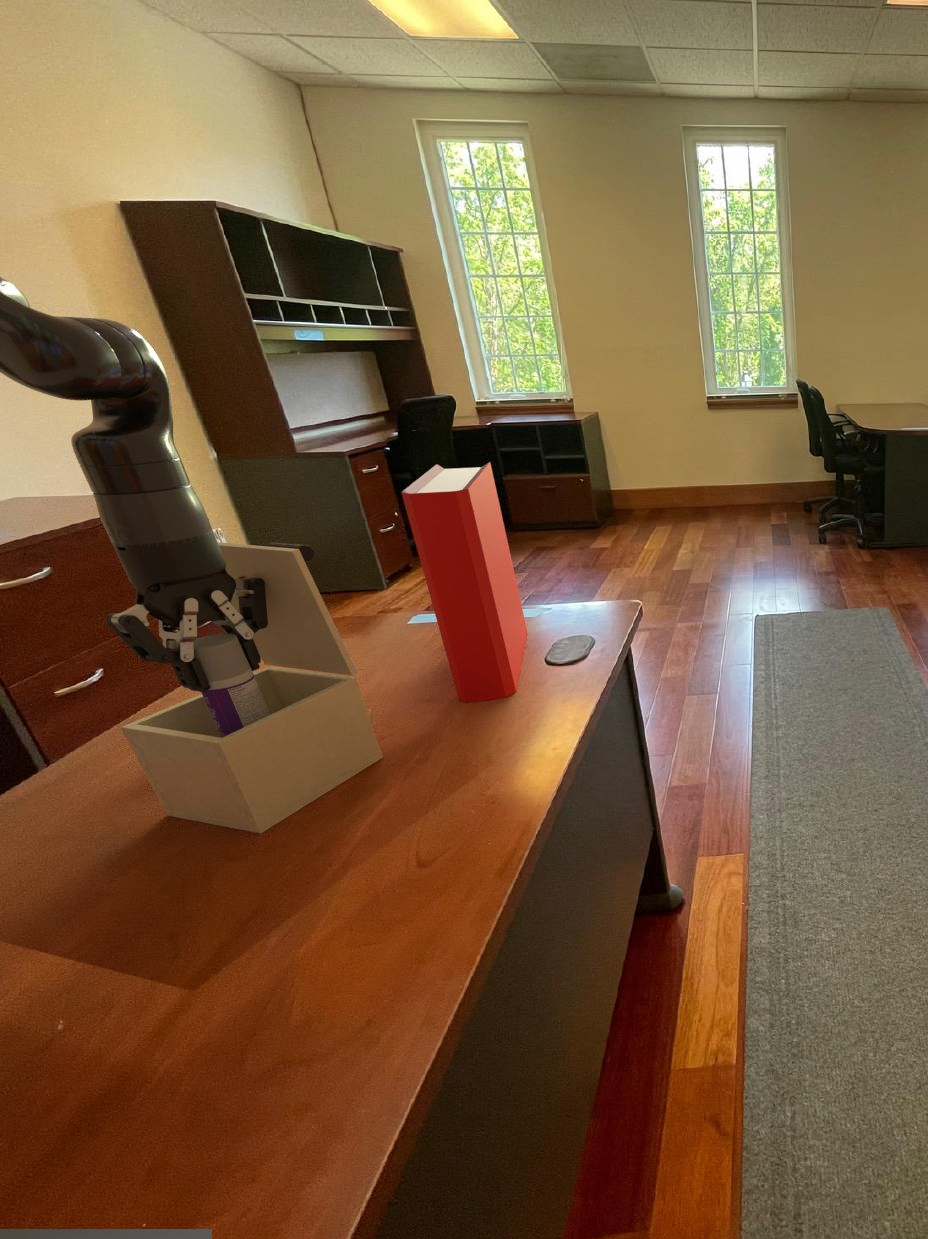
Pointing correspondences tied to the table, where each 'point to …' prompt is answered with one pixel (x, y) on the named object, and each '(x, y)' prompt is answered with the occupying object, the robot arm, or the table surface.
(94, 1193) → the table surface
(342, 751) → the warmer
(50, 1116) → the table surface
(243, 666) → the container
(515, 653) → the book
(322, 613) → the lid
